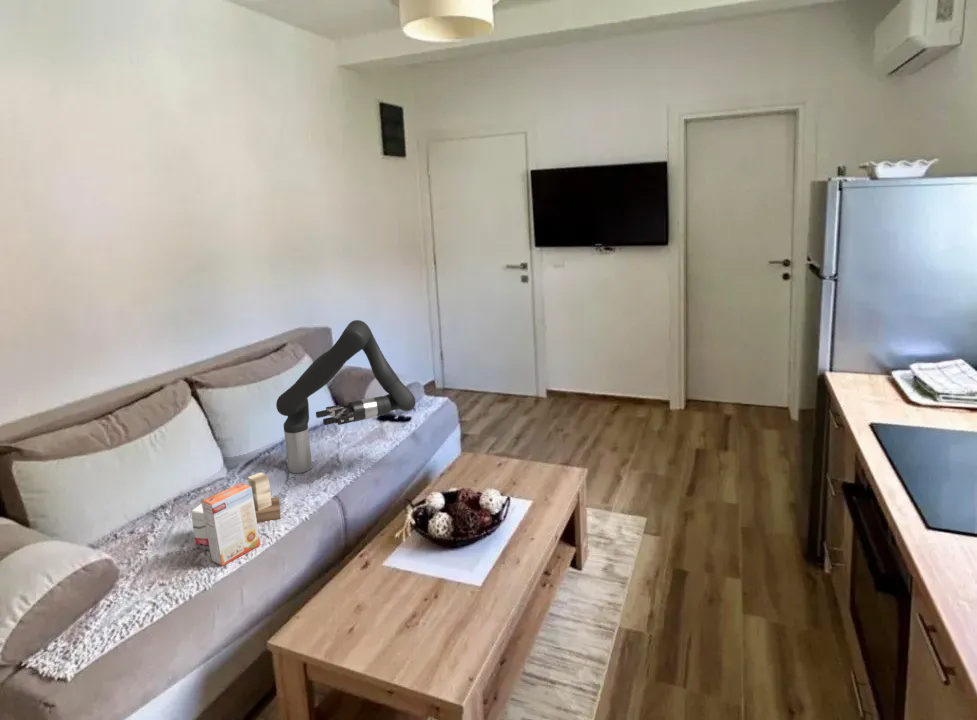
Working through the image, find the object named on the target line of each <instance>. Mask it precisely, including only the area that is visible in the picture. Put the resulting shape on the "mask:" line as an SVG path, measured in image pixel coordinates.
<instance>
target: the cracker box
mask: <svg viewBox="0 0 977 720" xmlns="http://www.w3.org/2000/svg"><path fill="white" fill-rule="evenodd" d="M201 503H202V508H203V514H204V519H205V525H206V530H207V536H208V541H209V545H208V547H209V553H210V557H211V561H212V562H213V561H214V563H215V562H216V563H215V564H218V565H220V566H222V567H223V566H225V565H228V564H229V563H231V562H233V561H235V560H237V559H238V558H239V557H241V556H243V555H245V554H247V553H249V552H250V551H252V550H254V549H255V548H257V547H259V546H261V541H260V534H259V527H258V523H257V519H256V513H255V506H254V500H253V494H252V487H251V486H249V484H245V483H242V482H239V483H237V484H236V485H233V486H231V487H229V488H226V489H224V490H223V491H220V492H218V493H216V494H213V495H211V496H208V497H207V498H205V499H204V498H203V499H202V500H201Z"/></svg>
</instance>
